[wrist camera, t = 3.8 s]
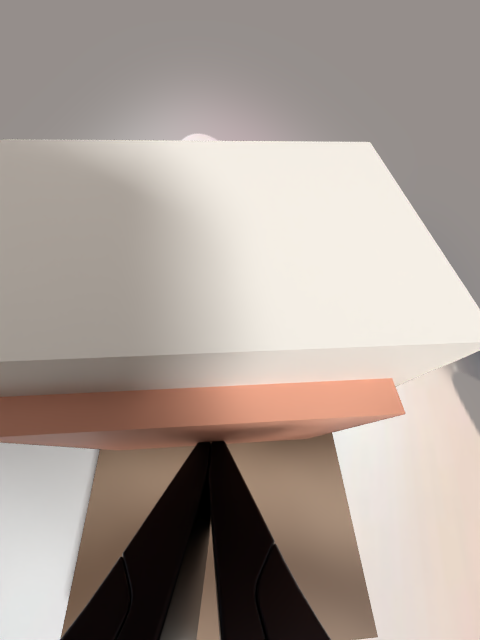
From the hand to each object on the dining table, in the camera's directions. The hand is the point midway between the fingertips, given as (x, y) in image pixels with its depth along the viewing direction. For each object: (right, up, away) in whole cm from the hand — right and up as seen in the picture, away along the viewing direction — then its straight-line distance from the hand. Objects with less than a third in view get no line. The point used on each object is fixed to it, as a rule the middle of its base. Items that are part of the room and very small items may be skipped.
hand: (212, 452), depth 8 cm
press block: (0, 0, +6) cm, 6 cm away
